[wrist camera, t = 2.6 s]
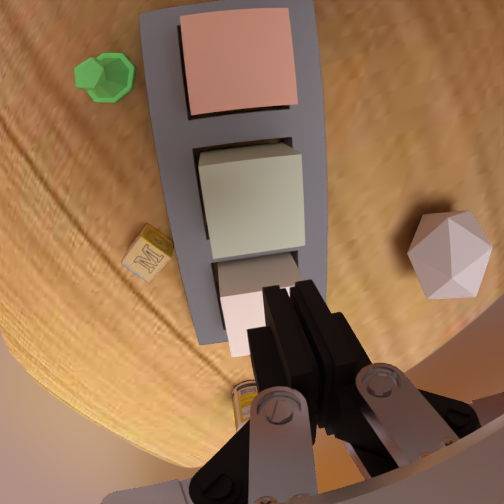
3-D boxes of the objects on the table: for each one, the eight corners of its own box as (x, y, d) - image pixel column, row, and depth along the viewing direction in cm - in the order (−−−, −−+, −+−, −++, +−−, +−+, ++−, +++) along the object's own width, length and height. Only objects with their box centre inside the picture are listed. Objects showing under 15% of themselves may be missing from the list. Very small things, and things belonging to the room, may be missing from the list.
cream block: (217, 262, 26) (220, 297, 22) (289, 251, 27) (305, 283, 22) (227, 318, 29) (231, 357, 25) (291, 308, 30) (305, 345, 25)
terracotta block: (185, 33, 18) (179, 16, 14) (271, 25, 18) (288, 7, 14) (194, 111, 21) (191, 115, 16) (279, 102, 21) (297, 104, 17)
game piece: (81, 64, 19) (47, 58, 14) (130, 44, 19) (108, 30, 14) (93, 111, 21) (62, 117, 16) (142, 93, 21) (123, 92, 16)
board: (146, 23, 19) (138, 14, 16) (301, 8, 20) (313, -2, 17) (199, 325, 32) (199, 345, 29) (316, 306, 33) (324, 324, 30)
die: (375, 247, 31) (425, 332, 27) (426, 188, 24) (492, 287, 20) (419, 232, 35) (463, 302, 30) (465, 182, 28) (519, 260, 23)
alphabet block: (127, 247, 27) (119, 264, 24) (147, 221, 26) (140, 236, 24) (154, 266, 28) (150, 285, 26) (175, 242, 28) (172, 259, 25)
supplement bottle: (254, 405, 39) (264, 459, 32) (224, 396, 38) (229, 452, 30) (277, 385, 38) (290, 441, 30) (246, 374, 36) (255, 433, 29)
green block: (200, 152, 22) (198, 166, 18) (282, 142, 23) (301, 154, 18) (211, 228, 25) (213, 259, 21) (287, 217, 25) (305, 245, 21)
